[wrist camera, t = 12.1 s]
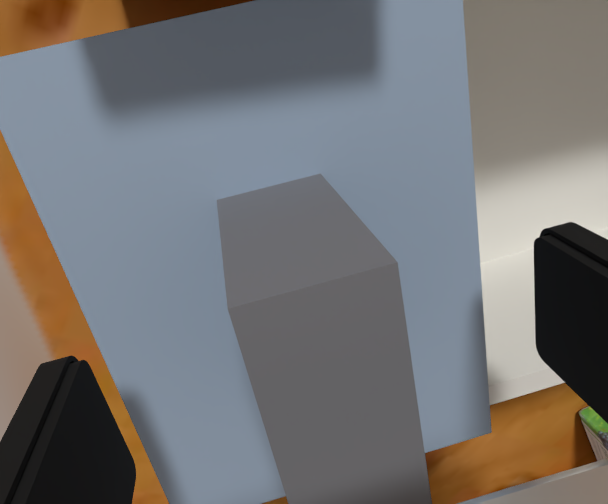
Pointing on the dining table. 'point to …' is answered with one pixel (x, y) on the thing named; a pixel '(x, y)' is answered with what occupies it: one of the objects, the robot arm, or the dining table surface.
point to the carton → (532, 158)
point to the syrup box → (595, 432)
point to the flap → (270, 239)
